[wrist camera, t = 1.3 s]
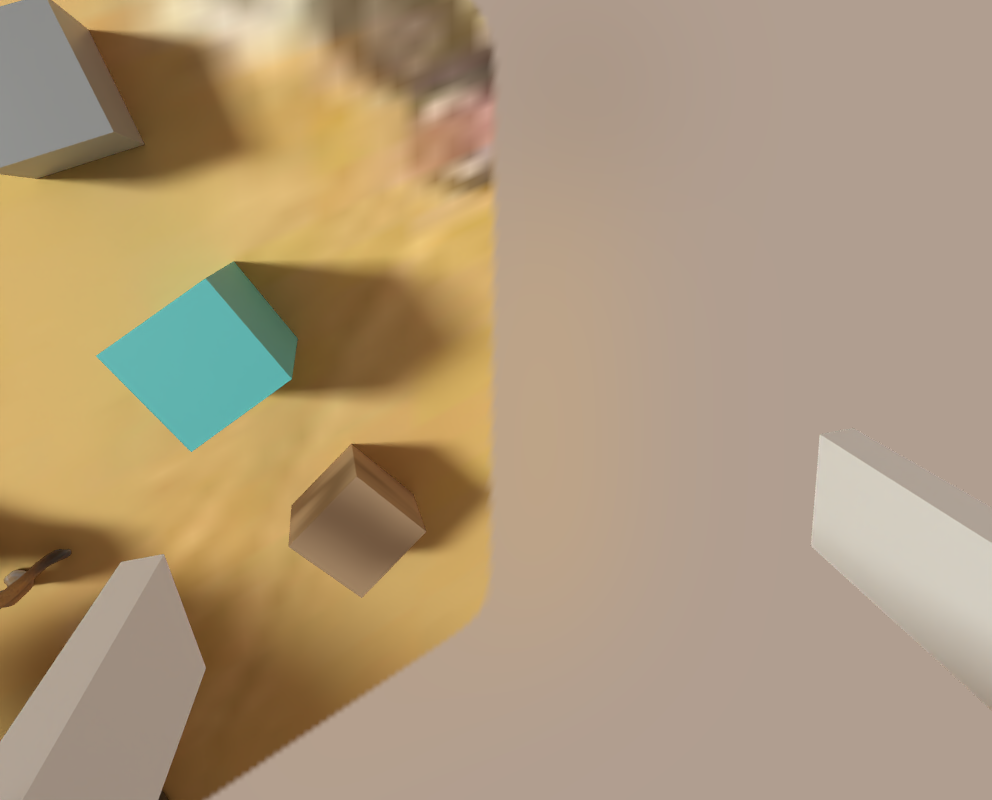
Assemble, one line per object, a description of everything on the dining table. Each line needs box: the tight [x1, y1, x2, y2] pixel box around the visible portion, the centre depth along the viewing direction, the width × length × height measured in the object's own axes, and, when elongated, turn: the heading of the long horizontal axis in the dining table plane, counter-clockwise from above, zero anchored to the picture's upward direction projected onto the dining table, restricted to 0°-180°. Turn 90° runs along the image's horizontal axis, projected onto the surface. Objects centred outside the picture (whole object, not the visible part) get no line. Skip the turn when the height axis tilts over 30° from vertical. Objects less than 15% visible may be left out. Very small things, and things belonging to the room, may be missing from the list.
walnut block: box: [289, 444, 426, 598], centre depth 35 cm, size 5×5×5 cm
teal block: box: [97, 262, 298, 452], centre depth 29 cm, size 5×5×9 cm
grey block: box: [0, 0, 144, 179], centre depth 27 cm, size 5×5×5 cm
